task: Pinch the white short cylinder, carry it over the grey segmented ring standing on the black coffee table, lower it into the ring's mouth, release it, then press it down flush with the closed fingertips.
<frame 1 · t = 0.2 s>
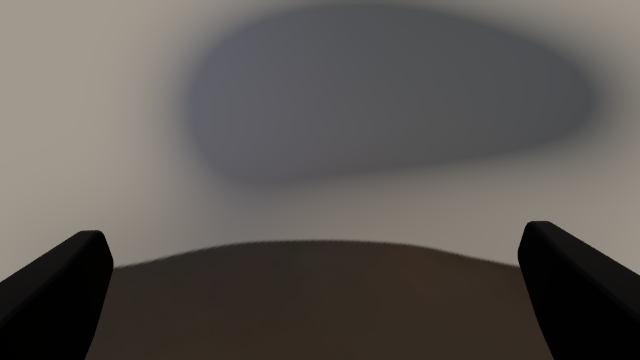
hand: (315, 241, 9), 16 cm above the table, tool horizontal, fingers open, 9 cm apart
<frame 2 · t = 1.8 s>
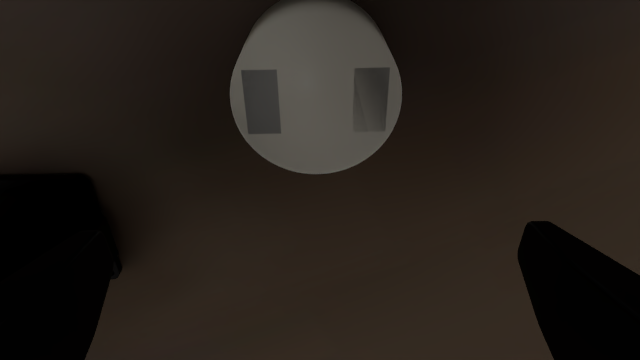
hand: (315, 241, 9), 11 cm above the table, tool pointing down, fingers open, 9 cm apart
white short cylinder: (315, 68, 18), on the table
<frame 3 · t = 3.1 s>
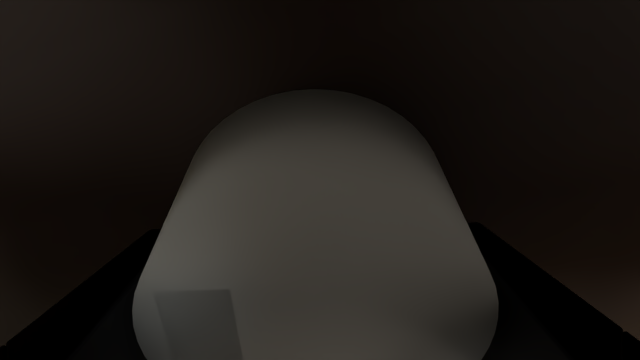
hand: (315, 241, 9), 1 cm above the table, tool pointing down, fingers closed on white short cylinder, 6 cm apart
white short cylinder: (315, 210, 10), on the table, touching gripper
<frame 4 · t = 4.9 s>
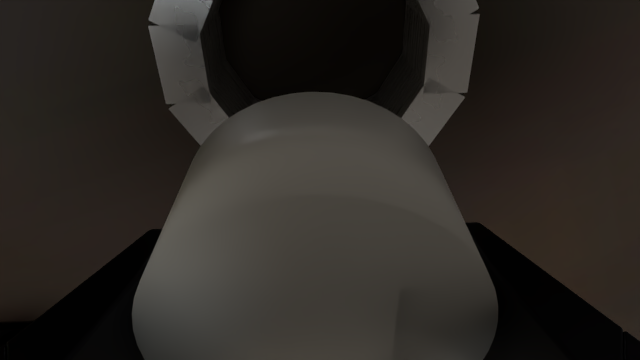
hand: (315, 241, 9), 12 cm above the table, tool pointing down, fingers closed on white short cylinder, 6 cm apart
white short cylinder: (314, 212, 10), point 11 cm above the table, touching gripper
grey segmented ring: (313, 31, 18), on the table
when the fingers open (4 cm above the table, at t = 6.7 s): white short cylinder drops 4 cm, resting in grey segmented ring.
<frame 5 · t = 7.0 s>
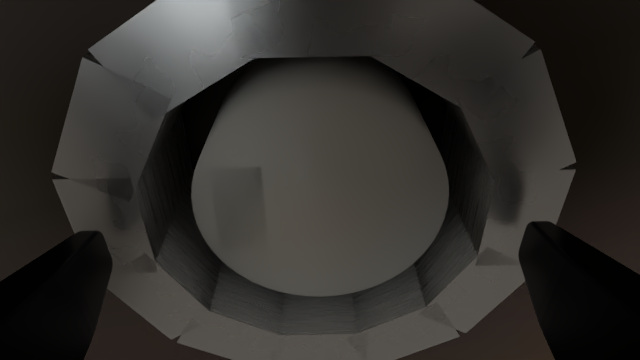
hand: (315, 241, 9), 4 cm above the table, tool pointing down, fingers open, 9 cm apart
white short cylinder: (318, 138, 13), resting in grey segmented ring
grey segmented ring: (314, 140, 13), on the table
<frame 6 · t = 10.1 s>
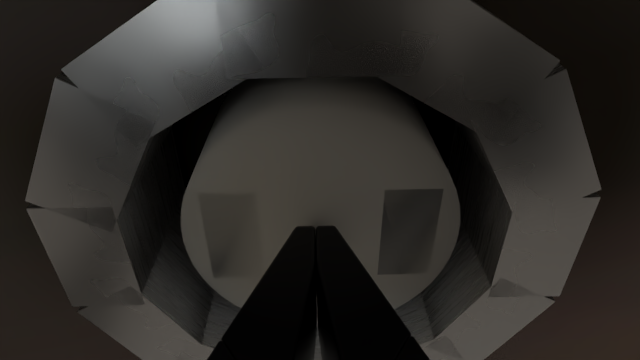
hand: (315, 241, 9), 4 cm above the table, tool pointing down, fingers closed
white short cylinder: (318, 155, 13), resting in grey segmented ring
grey segmented ring: (314, 157, 12), on the table
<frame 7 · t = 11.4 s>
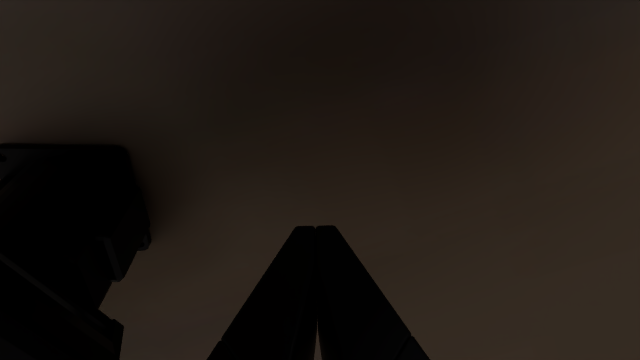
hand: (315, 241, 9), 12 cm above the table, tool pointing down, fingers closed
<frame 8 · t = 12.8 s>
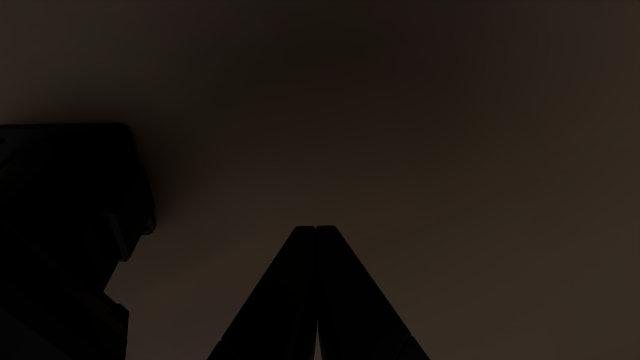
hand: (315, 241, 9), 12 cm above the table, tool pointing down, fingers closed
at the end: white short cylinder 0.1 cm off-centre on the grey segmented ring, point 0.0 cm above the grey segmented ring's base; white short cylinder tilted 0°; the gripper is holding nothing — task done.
